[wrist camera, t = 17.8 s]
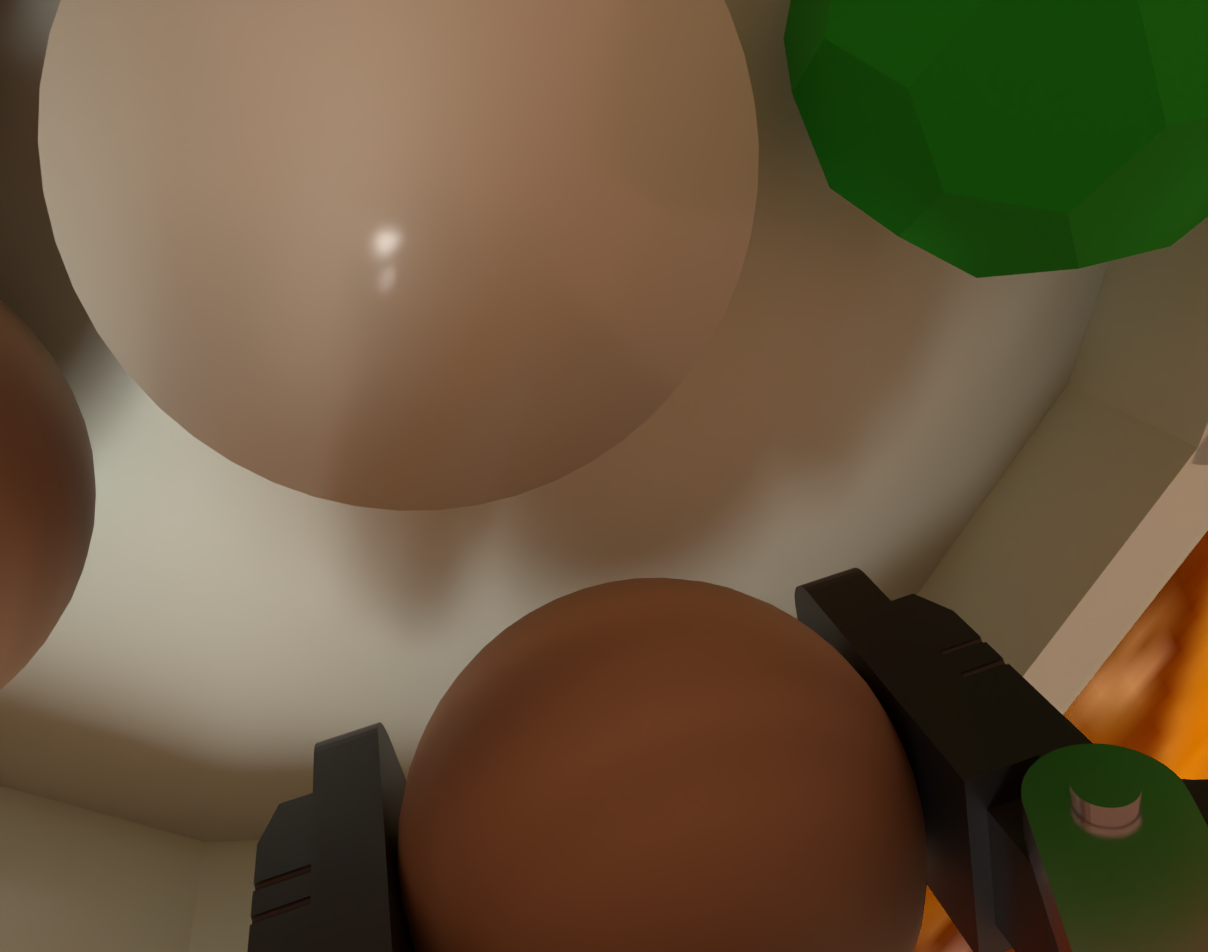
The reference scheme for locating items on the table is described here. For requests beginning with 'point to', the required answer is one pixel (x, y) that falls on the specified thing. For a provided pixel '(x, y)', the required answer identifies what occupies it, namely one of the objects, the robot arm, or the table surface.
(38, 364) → the joined brown beads
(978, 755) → the robot arm
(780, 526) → the tray
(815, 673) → the walnut bead
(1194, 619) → the table surface
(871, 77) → the polyhedron
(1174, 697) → the table surface
